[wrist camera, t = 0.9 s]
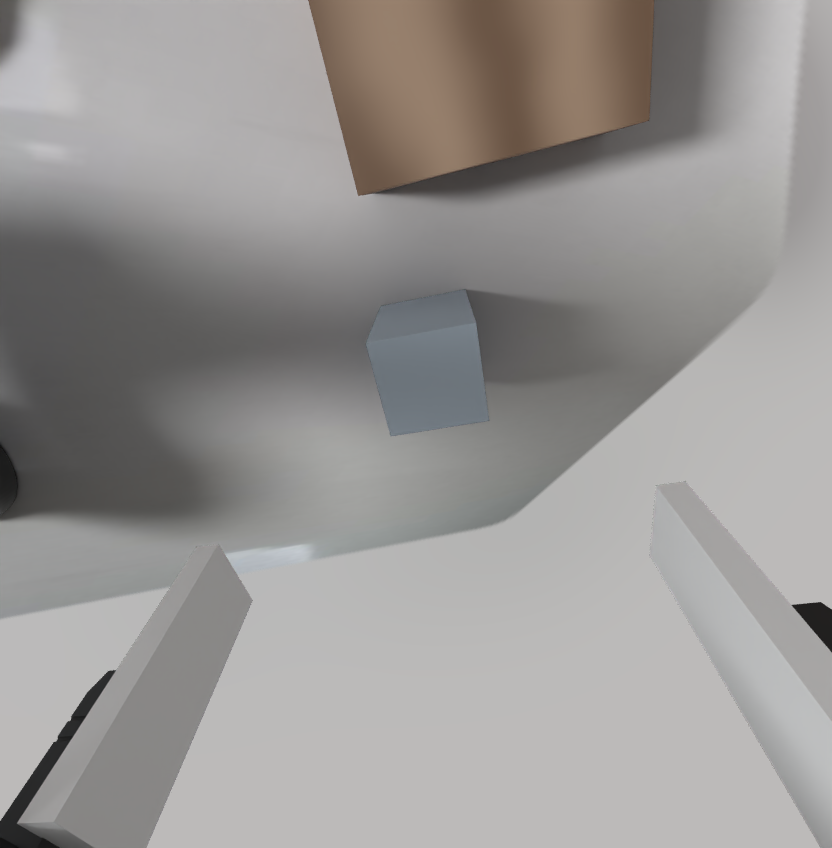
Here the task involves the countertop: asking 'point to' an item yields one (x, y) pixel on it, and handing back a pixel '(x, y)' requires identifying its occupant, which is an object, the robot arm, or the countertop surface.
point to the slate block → (428, 363)
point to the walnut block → (478, 79)
